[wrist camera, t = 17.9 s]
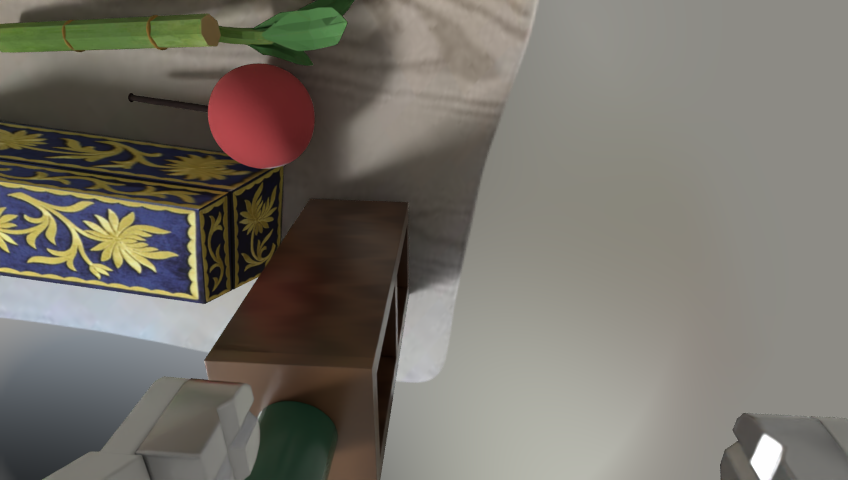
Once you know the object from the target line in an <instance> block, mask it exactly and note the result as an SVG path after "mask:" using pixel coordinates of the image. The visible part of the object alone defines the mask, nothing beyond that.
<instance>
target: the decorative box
mask: <svg viewBox="0 0 848 480" xmlns="http://www.w3.org/2000/svg"><path fill="white" fill-rule="evenodd" d="M283 167H284V166H281V167H277V168H270V169H259V168H253V167H249V166H246V165H243V164H241V163H239V162H237V161H236V160H234V159H232V158H231V157H230V156H228V155H227V154H226V153H222V152H215V151H208V150H201V149H194V148H186V147H179V146H172V145H165V144H158V143H151V142H144V141H137V140H130V139H123V138H116V137H109V136H102V135H95V134H88V133H80V132H73V131H66V130H59V129H52V128H45V127H38V126H31V125H24V124H17V123H10V122H3V121H0V275H3V276H10V277H17V278H24V279H31V280H38V281H45V282H53V283H60V284H67V285H74V286H81V287H88V288H95V289H102V290H110V291H117V292H124V293H131V294H138V295H145V296H152V297H160V298H167V299H174V300H181V301H188V302H195V303H202V304H206V303H208V302H210V301H211V300H213V299H215V298H217V297H219V296H221V295H223V294H225V293H227V292H229V291H231V290H232V289H235V288H237V287H239V286H241V285H243V284H245V283H247V282H249V281H251V280H253V279H255V278H257V277H259V276H260V274H261V273H262V271H263V270H264V268H265V267H266V265H267V264H268V262H269V261H270V259H271V258H272V256H273V254H274V253H275V251H276V250H277V248H278V247H279V245H280V244H281V219H282V193H283Z"/></svg>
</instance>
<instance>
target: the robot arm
mask: <svg viewBox="0 0 848 480" xmlns="http://www.w3.org/2000/svg"><path fill="white" fill-rule="evenodd" d="M253 402H254V397H253V393H252V388H251V385H248V384H246V383H239V382H227V381H216V380H204V379H192V378H191V379H185V378H174V377H162V378H160V379H158V380H157V381H155V382H154V383H153V384H152V386H151V387H150V388H149V389H148V391H147V392H146V393H145V395H144V396H143V397H142V398H141V400H140V401H139V402H138V404H137V405H136V406H135V407H134V409H133V410H132V411H131V413H130V414H129V415H128V416H127V418H126V419H125V420H124V421H123V423H122V424H121V425H120V427H119V428H118V429H117V430H116V432H115V433H114V434H113V435H112V437H111V438H110V439H109V441H108V442H107V443H106V444H105V446H104V447H103V448H102V449H101V451H100V452H89V453H87V454H86V455H84V456H82V457H80V458H79V459H77V460H75V461H73V462H72V463H70V464H68V465H67V466H65V467H63V468H61V469H60V470H58V471H56V472H55V473H53V474H51V475H49V476H48V477H46V478H44V479H43V480H244V479H246V478H247V477H248V476H249V475H250V474H251V471H252V469H253V466H254V464H255V462H256V459H257V454H258V449H259V445H260V426H259V421H258V418H257V417H256V416H255V415H253V414H252V413H251V412H250V411H249V410H250V408H251V406H252V404H253ZM733 432H734V434H735V436H736V437H737V439H738V441H737V442H736V443H734V444H733V445H731V446H730V447H728V448H727V449H725V451H724V454H723V457H722V460H721V464H720V473H721V480H848V419H846V418H835V417H813V416H811V417H806V416H791V415H772V414H753V413H743V414H742V415H741V416H740V417H739V418H737V420H736V423H735V425H734V428H733Z"/></svg>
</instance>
